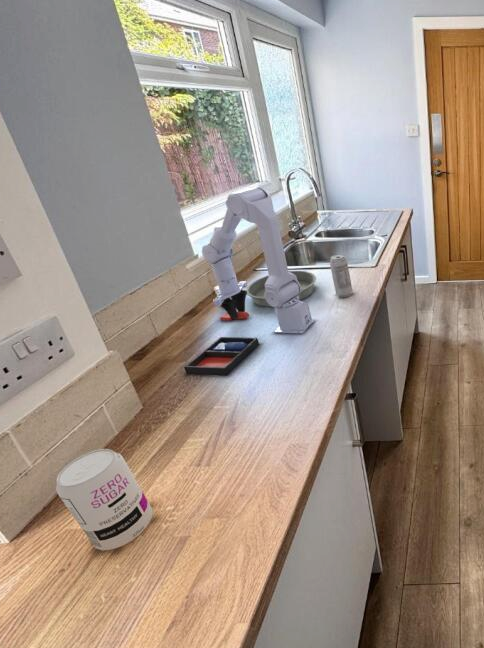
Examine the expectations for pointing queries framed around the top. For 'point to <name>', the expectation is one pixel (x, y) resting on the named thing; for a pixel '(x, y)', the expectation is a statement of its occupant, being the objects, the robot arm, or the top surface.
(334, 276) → the grey cylinder
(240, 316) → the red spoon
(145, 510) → the supplement can
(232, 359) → the black divided tray
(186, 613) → the top surface
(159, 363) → the top surface
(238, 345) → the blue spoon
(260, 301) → the cake pan
